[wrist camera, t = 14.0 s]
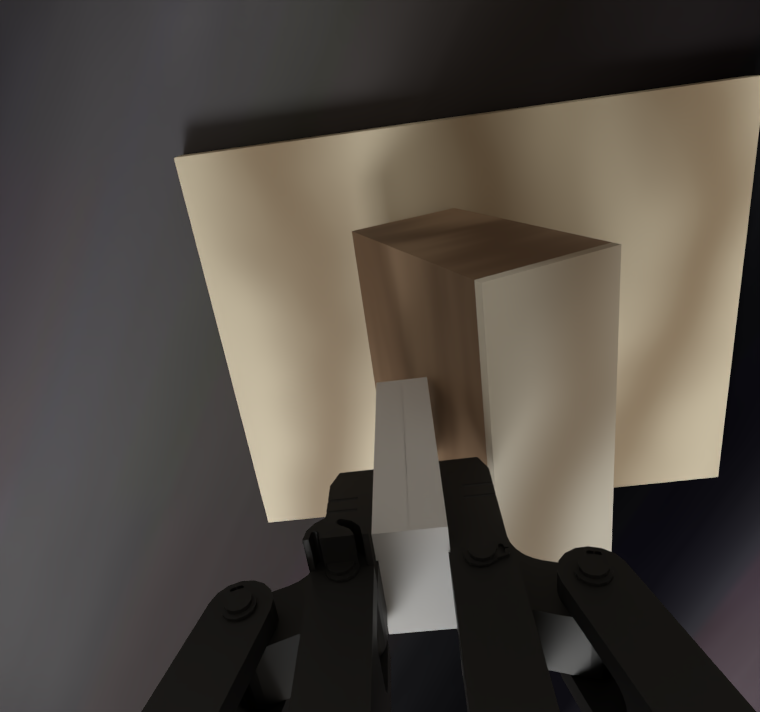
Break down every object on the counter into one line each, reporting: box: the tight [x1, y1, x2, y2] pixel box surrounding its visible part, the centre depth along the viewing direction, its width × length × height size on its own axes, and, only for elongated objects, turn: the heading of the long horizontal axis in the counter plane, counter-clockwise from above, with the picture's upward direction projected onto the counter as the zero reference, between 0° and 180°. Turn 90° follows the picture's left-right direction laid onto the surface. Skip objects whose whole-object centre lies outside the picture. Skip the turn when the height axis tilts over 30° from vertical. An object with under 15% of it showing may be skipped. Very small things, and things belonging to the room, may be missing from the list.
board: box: [174, 75, 760, 522], centre depth 24 cm, size 20×16×1 cm
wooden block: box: [352, 208, 621, 562], centre depth 19 cm, size 4×10×8 cm, turn 7°
